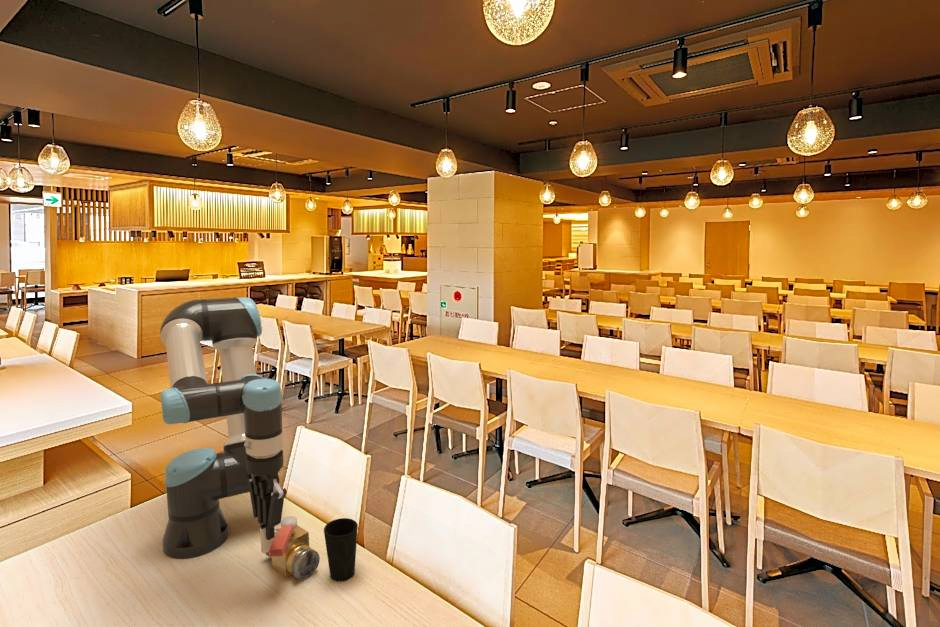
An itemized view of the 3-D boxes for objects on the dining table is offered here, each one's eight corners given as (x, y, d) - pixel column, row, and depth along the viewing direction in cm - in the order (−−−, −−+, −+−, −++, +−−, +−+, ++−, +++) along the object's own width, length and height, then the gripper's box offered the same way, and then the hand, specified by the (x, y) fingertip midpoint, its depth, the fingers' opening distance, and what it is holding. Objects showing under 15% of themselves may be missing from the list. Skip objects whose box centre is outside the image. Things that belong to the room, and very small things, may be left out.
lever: (283, 524, 124) (283, 516, 124) (298, 523, 124) (298, 516, 124) (267, 557, 111) (267, 548, 111) (284, 556, 112) (284, 548, 111)
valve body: (263, 560, 126) (261, 523, 124) (287, 547, 131) (285, 512, 129) (295, 585, 117) (293, 545, 116) (320, 570, 122) (318, 532, 121)
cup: (350, 587, 117) (349, 538, 115) (319, 582, 118) (317, 534, 116) (364, 565, 124) (362, 520, 122) (334, 561, 126) (333, 516, 124)
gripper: (232, 448, 111) (237, 545, 116) (263, 466, 104) (267, 571, 108) (265, 437, 117) (268, 531, 121) (296, 454, 109) (299, 554, 114)
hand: (268, 549), depth 115 cm, fingers closed
